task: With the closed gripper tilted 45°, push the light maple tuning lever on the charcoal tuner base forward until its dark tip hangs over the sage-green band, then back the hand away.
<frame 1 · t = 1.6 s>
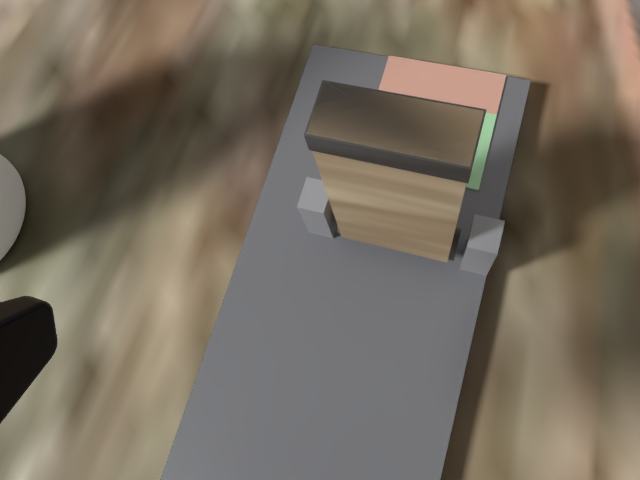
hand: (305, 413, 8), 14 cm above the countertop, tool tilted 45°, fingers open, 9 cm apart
tuner base: (399, 247, 23), on the countertop
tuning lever: (396, 192, 18), point 6 cm above the countertop, hinge at 0.0°
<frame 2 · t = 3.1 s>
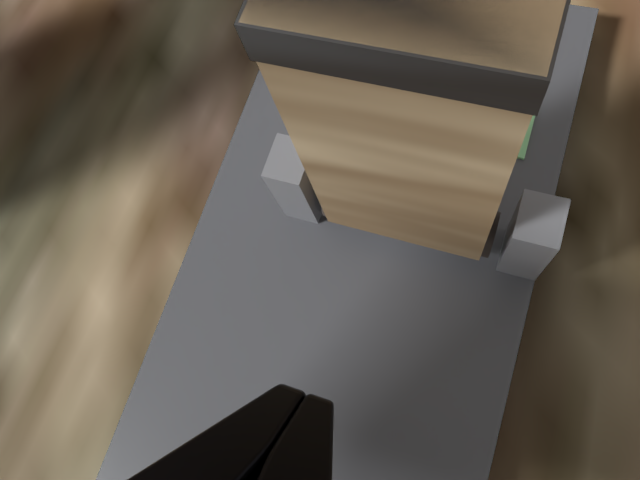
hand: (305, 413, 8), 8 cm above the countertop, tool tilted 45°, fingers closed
tuner base: (410, 237, 17), on the countertop
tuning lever: (405, 149, 11), point 6 cm above the countertop, hinge at 0.0°
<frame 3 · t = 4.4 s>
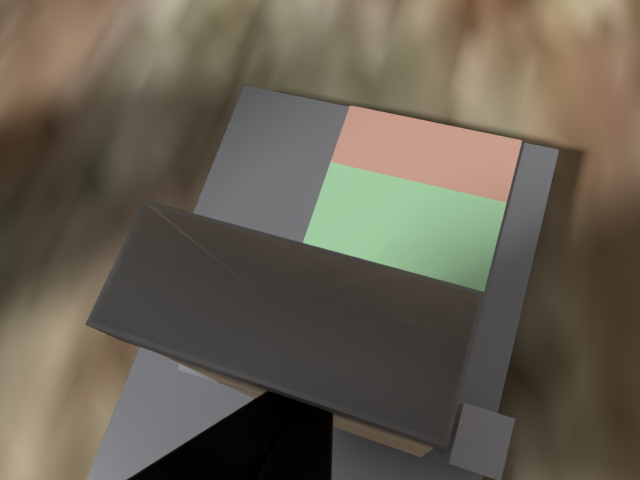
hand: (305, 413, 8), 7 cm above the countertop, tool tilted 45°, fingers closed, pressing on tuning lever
tuner base: (355, 399, 15), on the countertop
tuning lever: (327, 371, 10), point 6 cm above the countertop, hinge at 4.4°, touching gripper
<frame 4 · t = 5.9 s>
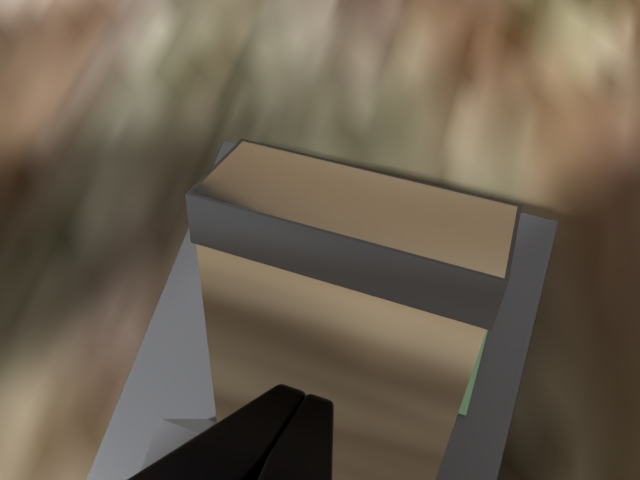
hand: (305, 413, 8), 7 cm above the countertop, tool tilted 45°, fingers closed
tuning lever: (334, 398, 10), point 5 cm above the countertop, hinge at 35.3°
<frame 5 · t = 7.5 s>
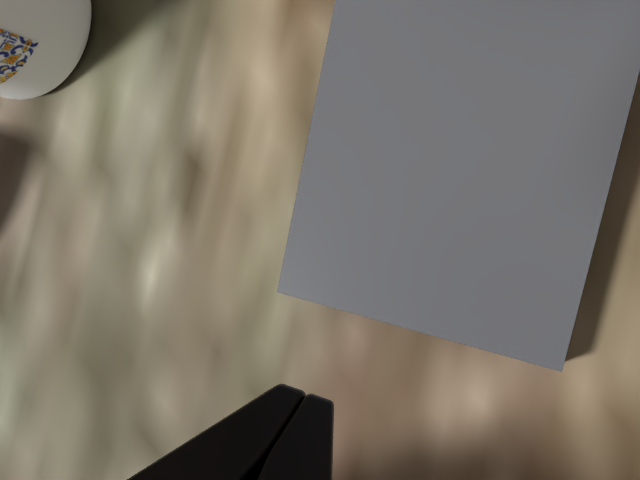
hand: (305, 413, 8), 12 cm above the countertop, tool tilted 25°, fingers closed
bath foam: (36, 22, 25), on the countertop
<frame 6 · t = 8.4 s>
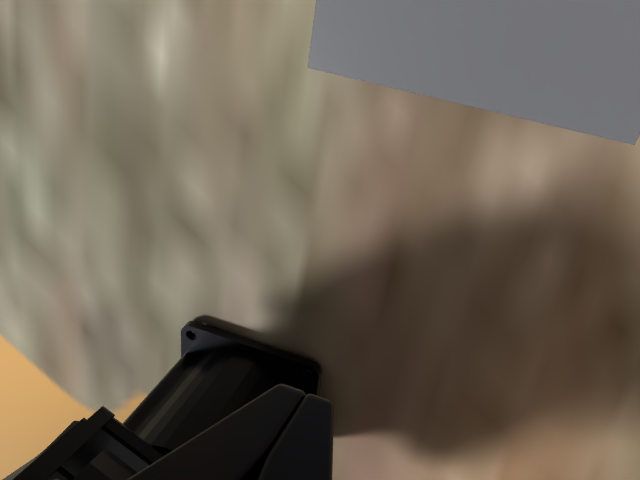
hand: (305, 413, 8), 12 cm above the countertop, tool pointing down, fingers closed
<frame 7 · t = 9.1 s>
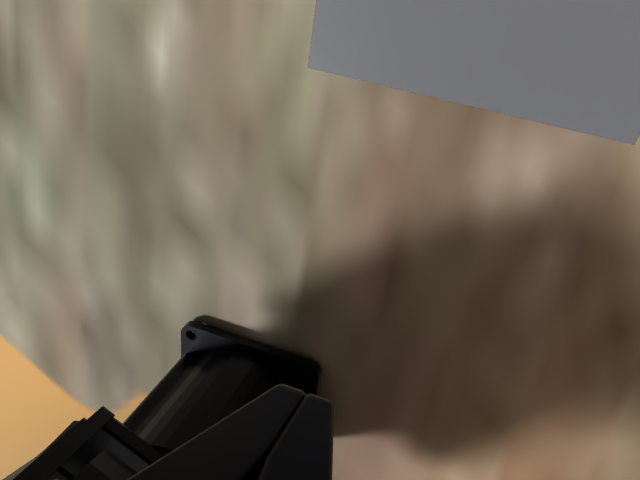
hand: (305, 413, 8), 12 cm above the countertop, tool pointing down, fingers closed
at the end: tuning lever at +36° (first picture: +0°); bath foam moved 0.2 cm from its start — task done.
